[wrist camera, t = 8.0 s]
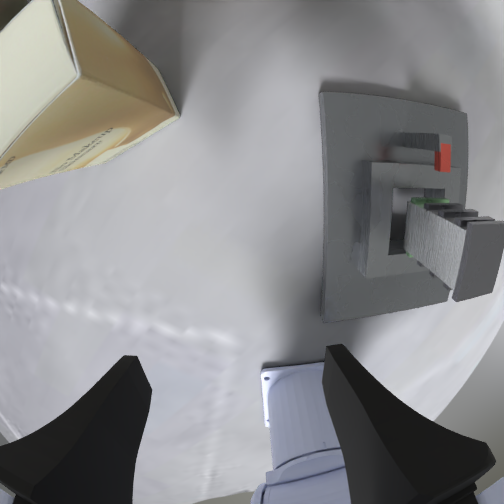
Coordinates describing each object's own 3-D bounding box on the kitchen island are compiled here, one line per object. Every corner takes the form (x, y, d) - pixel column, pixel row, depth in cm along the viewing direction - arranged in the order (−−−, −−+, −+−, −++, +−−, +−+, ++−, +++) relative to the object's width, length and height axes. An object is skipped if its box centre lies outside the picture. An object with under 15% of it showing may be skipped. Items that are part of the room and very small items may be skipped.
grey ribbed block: (437, 250, 16) (492, 292, 10) (402, 254, 16) (456, 302, 10) (443, 195, 15) (508, 223, 9) (408, 194, 15) (473, 224, 9)
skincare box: (105, 165, 16) (-38, 214, 5) (82, 114, 15) (-62, 116, 4) (187, 115, 16) (82, 75, 4) (160, 62, 14) (50, -23, 3)
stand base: (441, 295, 21) (471, 326, 17) (320, 315, 21) (337, 358, 17) (459, 113, 15) (502, 114, 11) (318, 94, 15) (345, 78, 11)
